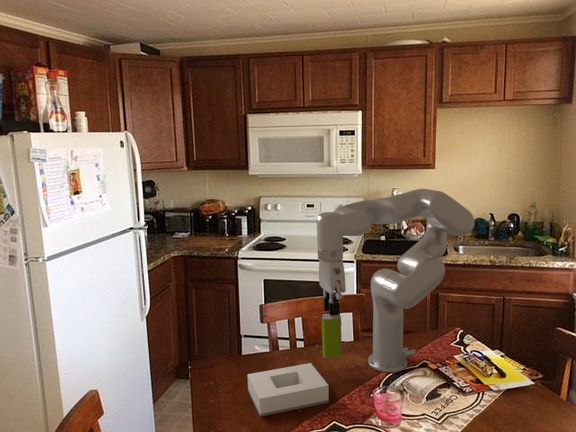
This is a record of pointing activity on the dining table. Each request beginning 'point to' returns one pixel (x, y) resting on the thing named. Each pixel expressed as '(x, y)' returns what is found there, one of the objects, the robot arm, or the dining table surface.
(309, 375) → the charging dock
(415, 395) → the dining table surface
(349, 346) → the dining table surface
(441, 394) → the dining table surface
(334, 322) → the vape
